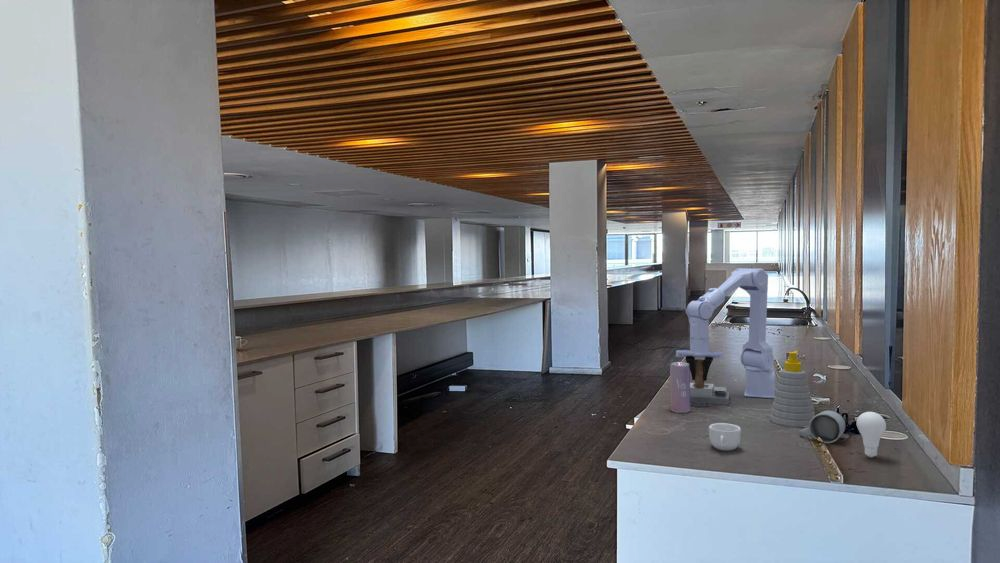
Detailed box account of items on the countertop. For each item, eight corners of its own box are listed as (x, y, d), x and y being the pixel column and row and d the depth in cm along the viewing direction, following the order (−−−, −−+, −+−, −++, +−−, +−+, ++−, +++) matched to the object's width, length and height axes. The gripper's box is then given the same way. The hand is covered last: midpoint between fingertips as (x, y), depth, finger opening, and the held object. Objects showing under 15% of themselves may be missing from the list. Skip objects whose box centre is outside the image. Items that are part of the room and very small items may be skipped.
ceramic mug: (846, 438, 167) (846, 409, 166) (841, 445, 160) (840, 416, 160) (803, 432, 173) (802, 404, 173) (796, 439, 167) (795, 411, 166)
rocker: (726, 391, 212) (726, 387, 212) (725, 391, 206) (725, 387, 206) (715, 391, 213) (715, 387, 214) (713, 390, 207) (713, 386, 207)
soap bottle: (822, 420, 183) (822, 351, 182) (808, 430, 174) (808, 357, 173) (778, 413, 192) (778, 347, 191) (763, 422, 183) (763, 352, 182)
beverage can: (688, 408, 200) (687, 361, 199) (691, 413, 194) (691, 365, 193) (668, 408, 201) (668, 362, 200) (672, 413, 195) (671, 365, 194)
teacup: (711, 442, 165) (711, 421, 165) (742, 445, 162) (742, 424, 162) (705, 453, 157) (705, 431, 156) (738, 457, 153) (737, 435, 153)
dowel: (704, 387, 204) (704, 359, 204) (704, 388, 201) (704, 360, 201) (694, 386, 205) (694, 359, 205) (694, 388, 202) (694, 360, 202)
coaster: (707, 404, 205) (707, 403, 205) (706, 407, 201) (706, 406, 201) (693, 403, 207) (692, 402, 207) (691, 406, 202) (691, 405, 202)
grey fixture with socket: (729, 397, 214) (729, 384, 213) (728, 405, 204) (728, 391, 203) (690, 394, 219) (690, 381, 219) (686, 402, 209) (686, 388, 208)
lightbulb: (850, 453, 154) (851, 409, 153) (874, 452, 154) (874, 408, 154) (867, 462, 148) (867, 415, 147) (891, 460, 148) (892, 414, 148)
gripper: (674, 338, 202) (674, 380, 202) (722, 340, 196) (722, 383, 197) (677, 336, 208) (677, 376, 209) (723, 337, 203) (723, 379, 203)
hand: (699, 379), depth 203 cm, fingers closed on dowel, 3 cm apart
